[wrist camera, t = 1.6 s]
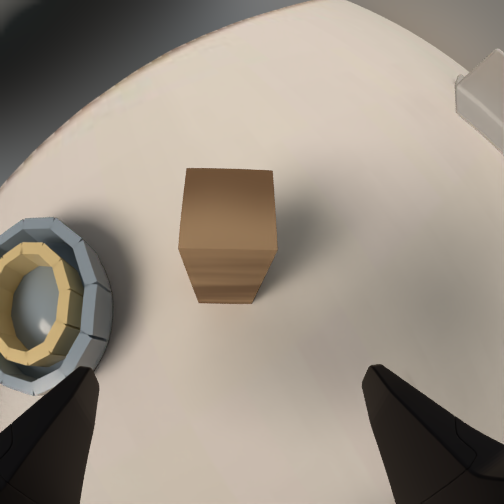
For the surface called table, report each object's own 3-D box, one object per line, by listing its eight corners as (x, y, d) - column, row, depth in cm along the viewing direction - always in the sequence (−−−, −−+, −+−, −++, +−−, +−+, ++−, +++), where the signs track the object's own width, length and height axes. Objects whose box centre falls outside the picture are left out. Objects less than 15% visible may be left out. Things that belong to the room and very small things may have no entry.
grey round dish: (65, 424, 16) (43, 430, 13) (-22, 324, 18) (-44, 316, 14) (145, 287, 22) (132, 274, 18) (44, 212, 23) (27, 193, 20)
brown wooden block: (251, 303, 22) (277, 250, 12) (198, 303, 22) (178, 247, 11) (250, 254, 23) (272, 170, 13) (200, 253, 23) (186, 168, 13)
